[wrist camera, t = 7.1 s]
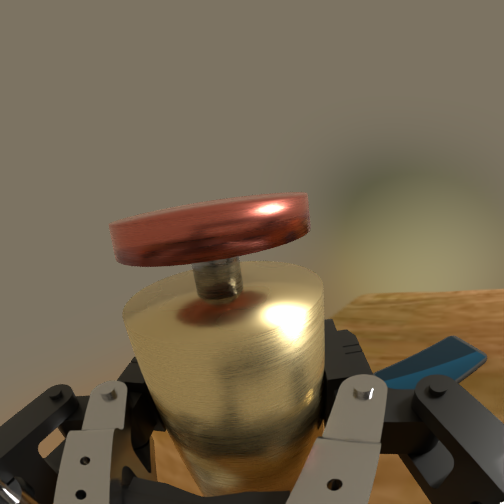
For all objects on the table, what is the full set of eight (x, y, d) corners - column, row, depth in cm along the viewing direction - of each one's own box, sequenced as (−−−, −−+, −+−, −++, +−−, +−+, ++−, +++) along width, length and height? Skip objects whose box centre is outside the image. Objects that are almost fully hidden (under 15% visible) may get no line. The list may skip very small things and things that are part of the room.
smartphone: (366, 380, 28) (367, 374, 27) (451, 338, 31) (452, 333, 30) (405, 419, 20) (407, 412, 20) (488, 361, 23) (490, 355, 23)
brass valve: (288, 433, 13) (263, 192, 10) (339, 499, 8) (365, 191, 5) (195, 462, 11) (114, 218, 8) (225, 542, 6) (74, 240, 4)
